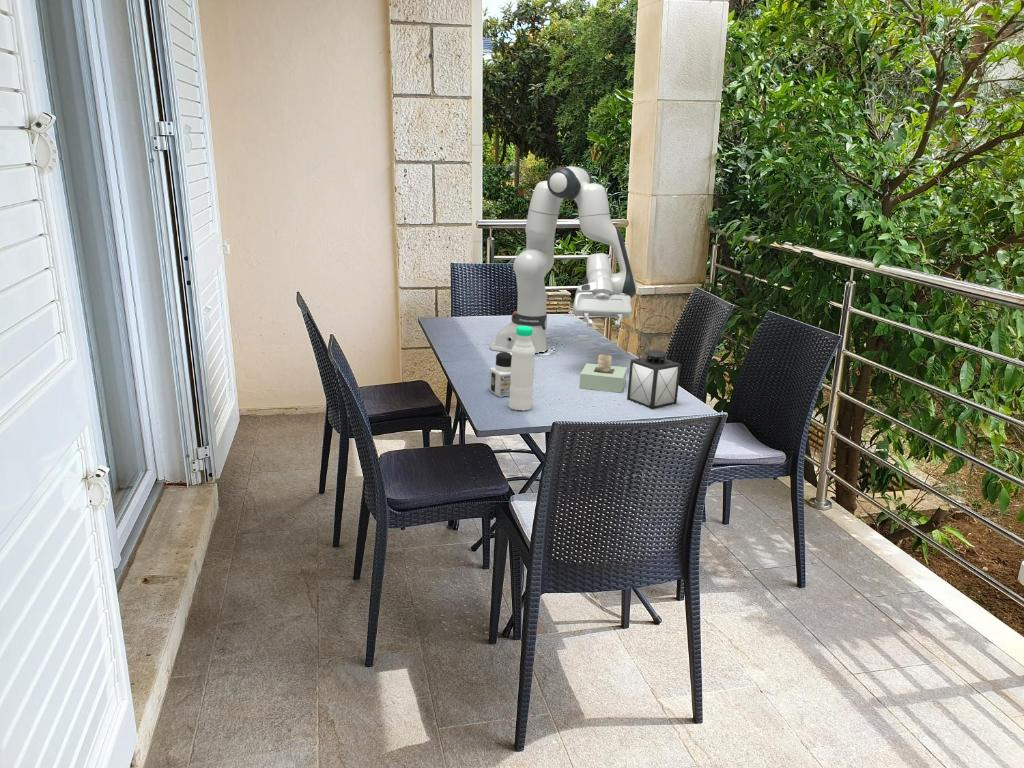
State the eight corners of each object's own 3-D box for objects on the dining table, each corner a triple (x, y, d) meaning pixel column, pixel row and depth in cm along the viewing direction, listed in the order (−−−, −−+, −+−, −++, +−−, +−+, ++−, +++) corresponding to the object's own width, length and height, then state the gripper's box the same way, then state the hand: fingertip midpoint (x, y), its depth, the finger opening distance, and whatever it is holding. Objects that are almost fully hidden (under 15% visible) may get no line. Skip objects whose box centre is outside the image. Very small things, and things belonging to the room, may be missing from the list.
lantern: (626, 399, 255) (634, 313, 247) (651, 394, 262) (659, 310, 253) (652, 409, 247) (661, 320, 238) (676, 404, 253) (686, 317, 245)
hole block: (579, 388, 264) (580, 373, 263) (585, 377, 278) (586, 363, 276) (621, 392, 262) (623, 378, 260) (625, 381, 275) (627, 367, 273)
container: (499, 397, 251) (501, 357, 247) (488, 390, 257) (490, 351, 254) (521, 395, 254) (523, 355, 251) (509, 388, 261) (511, 349, 257)
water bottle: (507, 404, 245) (511, 324, 238) (530, 404, 246) (535, 324, 239) (509, 411, 238) (513, 329, 231) (533, 411, 239) (538, 330, 232)
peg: (595, 386, 268) (597, 357, 265) (596, 382, 272) (599, 353, 269) (608, 387, 267) (611, 358, 264) (610, 383, 271) (612, 355, 268)
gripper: (628, 298, 283) (631, 332, 276) (570, 296, 281) (572, 330, 274) (632, 288, 277) (635, 322, 271) (573, 286, 276) (575, 319, 269)
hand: (603, 326), depth 273 cm, fingers open, 8 cm apart
